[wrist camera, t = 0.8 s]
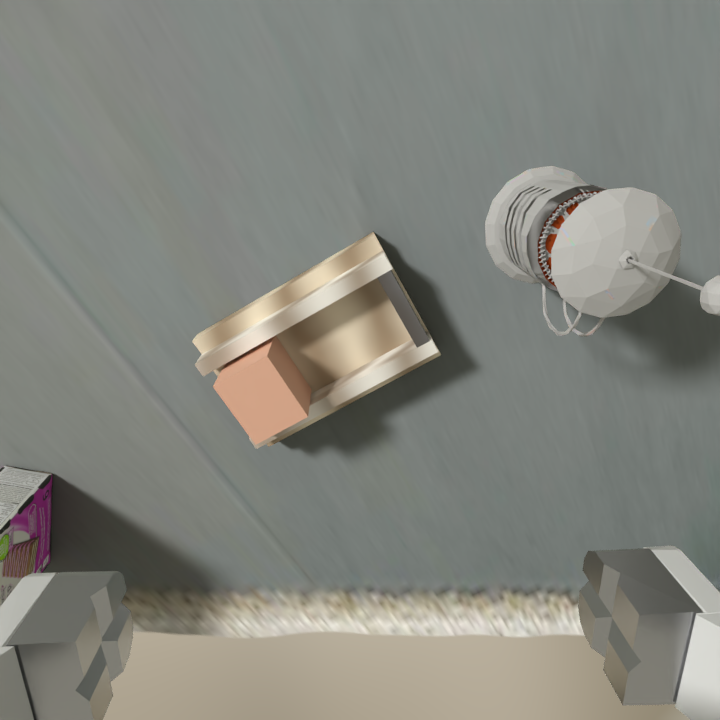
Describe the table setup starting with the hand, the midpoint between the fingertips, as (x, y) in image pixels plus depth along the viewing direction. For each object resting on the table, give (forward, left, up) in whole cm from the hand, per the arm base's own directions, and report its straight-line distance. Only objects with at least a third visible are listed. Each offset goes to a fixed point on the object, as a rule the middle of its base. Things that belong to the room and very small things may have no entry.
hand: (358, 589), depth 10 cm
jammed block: (+13, 0, -38) cm, 40 cm away
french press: (-8, +14, -40) cm, 44 cm away
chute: (+9, +2, -40) cm, 41 cm away
